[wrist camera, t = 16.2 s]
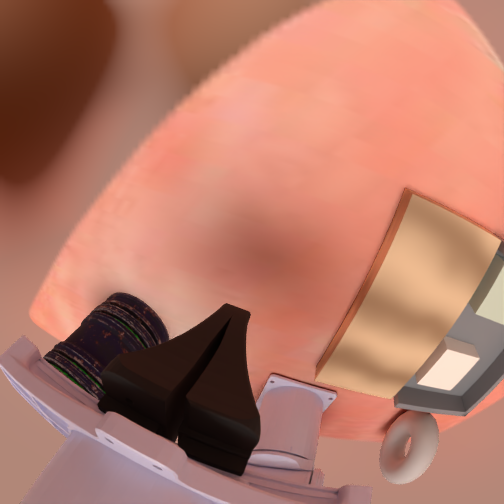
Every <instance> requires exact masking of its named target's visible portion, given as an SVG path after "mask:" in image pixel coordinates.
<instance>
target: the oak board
mask: <svg viewBox="0 0 504 504" xmlns="http://www.w3.org/2000/svg"><path fill="white" fill-rule="evenodd" d="M500 243H501V240H500V239H499V238H498V237H496V236H495V235H494V234H493V233H492V232H491V231H489V230H487V229H486V228H484V227H482V226H480V225H479V224H477V223H475V222H473V221H472V220H470V219H468V218H466V217H464V216H462V215H461V214H459V213H457V212H455V211H453V210H451V209H449V208H447V207H445V206H443V205H441V204H439V203H437V202H435V201H433V200H431V199H429V198H427V197H425V196H423V195H420V194H418V193H416V192H414V191H412V190H409V189H407V188H405V190H404V192H403V195H402V198H401V200H400V203H399V205H398V208H397V210H396V213H395V215H394V218H393V220H392V223H391V225H390V227H389V230H388V232H387V234H386V237H385V239H384V241H383V243H382V246H381V248H380V250H379V252H378V254H377V257H376V259H375V261H374V263H373V265H372V267H371V269H370V271H369V273H368V275H367V277H366V279H365V281H364V283H363V285H362V287H361V289H360V291H359V293H358V295H357V297H356V299H355V301H354V303H353V305H352V307H351V308H350V310H349V312H348V314H347V316H346V317H345V319H344V321H343V323H342V325H341V326H340V328H339V330H338V332H337V333H336V335H335V337H334V338H333V340H332V342H331V344H330V345H329V347H328V349H327V350H326V352H325V353H324V355H323V357H322V358H321V360H320V362H319V363H318V365H317V367H316V374H315V380H314V381H317V382H321V383H325V384H328V385H332V386H336V387H340V388H343V389H347V390H351V391H356V392H360V393H364V394H368V395H373V396H378V397H382V398H387V399H392V398H393V397H394V396H395V395H396V394H397V393H398V391H399V390H400V389H401V388H402V387H403V386H404V385H405V384H406V383H407V382H408V381H409V380H410V379H411V377H412V376H413V375H414V374H415V373H416V372H417V371H418V369H419V368H420V367H421V366H422V365H423V364H424V362H425V361H426V360H427V359H428V358H429V356H430V355H431V354H432V353H433V351H434V350H435V349H436V347H437V346H438V345H439V344H440V342H441V341H442V340H443V338H444V337H445V336H446V334H447V333H448V331H449V330H450V329H451V327H452V326H453V324H454V323H455V322H456V320H457V319H458V317H459V316H460V314H461V313H462V311H463V310H464V308H465V307H466V305H467V303H468V302H469V300H470V299H471V297H472V295H473V294H474V292H475V290H476V289H477V287H478V285H479V284H480V282H481V280H482V278H483V277H484V275H485V273H486V271H487V269H488V267H489V265H490V263H491V262H492V260H493V258H494V256H495V254H496V252H497V249H498V247H499V245H500Z"/></svg>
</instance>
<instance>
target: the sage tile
mask: <svg viewBox="0 0 504 504" xmlns="http://www.w3.org/2000/svg"><path fill="white" fill-rule="evenodd" d="M469 304H470V306H471V307H472V309H473V311H474V313H475V314H477V315H479V316H482V317H485V318H487V319H490V320H492V321H495V322H497V323H500V324H503V325H504V257H502V256H500V255H499V254H497V253H496V254H495V256H494V258H493V260H492V262H491V263H490V265H489V267H488V269H487V271H486V273H485V275H484V277H483V278H482V280H481V282H480V284H479V285H478V287H477V289H476V290H475V292H474V294H473V295H472V297H471V299H470V300H469Z"/></svg>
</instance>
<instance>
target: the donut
mask: <svg viewBox="0 0 504 504" xmlns="http://www.w3.org/2000/svg"><path fill="white" fill-rule="evenodd" d="M410 437H411V445H410V449H409V451H408V454H407V455H406V457H405V456H404V455H405V447H406V444H407V442H408V440H409V438H410ZM438 442H439V429H438V425H437V422H436V419H435V418H434V417H433V416H432V415H431V414H430V413H429V412H422V411H415V410H409V411H407V412H405V413H403V414H402V415H400V416H399V417H398V418H397V419H396V420H395V421H394V422H393V424H392V425H391V426H390V428H389V430H388V431H387V433H386V435H385V438H384V440H383V443H382V446H381V450H380V458H379V462H380V469H381V472H382V474H383V476H384V477H385V478H386V479H387V480H388V481H389V482H390V483H395V484H405V483H408V482H411V481H413V480H415V479H416V478H418V477H419V476H420V475H422V474H423V473H424V471H425V470H426V469H427V468H428V467H429V465H430V464H431V462H432V460H433V458H434V456H435V453H436V451H437V446H438Z"/></svg>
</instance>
